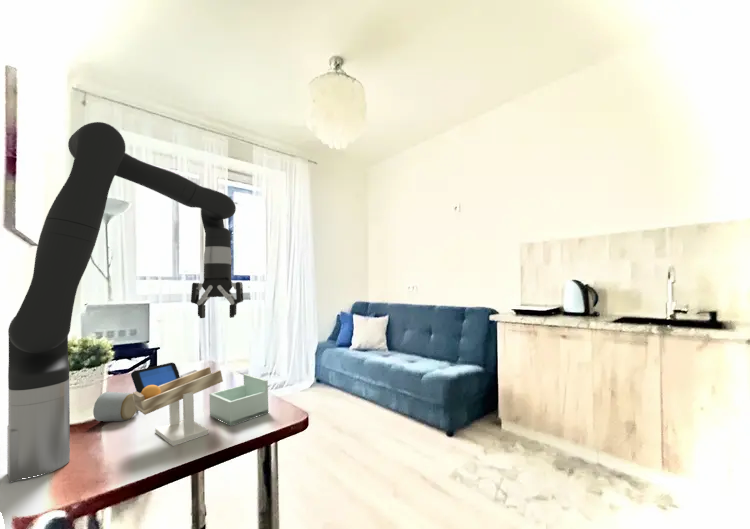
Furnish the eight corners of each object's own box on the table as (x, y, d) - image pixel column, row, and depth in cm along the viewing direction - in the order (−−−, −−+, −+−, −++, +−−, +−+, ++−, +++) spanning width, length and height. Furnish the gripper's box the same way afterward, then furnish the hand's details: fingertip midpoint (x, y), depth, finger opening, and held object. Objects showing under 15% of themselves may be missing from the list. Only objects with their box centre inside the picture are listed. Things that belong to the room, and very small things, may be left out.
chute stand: (172, 446, 81) (172, 399, 81) (155, 432, 89) (154, 390, 89) (208, 433, 87) (207, 390, 87) (189, 422, 95) (188, 382, 95)
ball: (148, 408, 81) (140, 393, 80) (143, 404, 84) (135, 390, 83) (166, 396, 84) (158, 382, 83) (160, 393, 87) (153, 379, 86)
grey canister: (123, 424, 95) (123, 395, 95) (92, 426, 95) (92, 396, 95) (148, 410, 105) (148, 384, 106) (120, 412, 105) (120, 385, 106)
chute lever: (145, 414, 79) (141, 397, 79) (124, 400, 90) (121, 385, 89) (222, 381, 92) (219, 366, 92) (197, 372, 103) (194, 359, 103)
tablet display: (155, 405, 110) (155, 375, 111) (129, 400, 116) (129, 371, 117) (199, 390, 125) (199, 363, 125) (174, 386, 130) (174, 361, 131)
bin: (230, 426, 91) (229, 390, 91) (209, 415, 99) (209, 382, 99) (268, 412, 99) (267, 380, 99) (246, 404, 107) (246, 374, 107)
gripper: (187, 262, 101) (186, 319, 100) (238, 261, 102) (237, 318, 101) (198, 264, 109) (198, 317, 108) (246, 263, 109) (245, 316, 108)
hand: (217, 317), depth 104 cm, fingers open, 8 cm apart
